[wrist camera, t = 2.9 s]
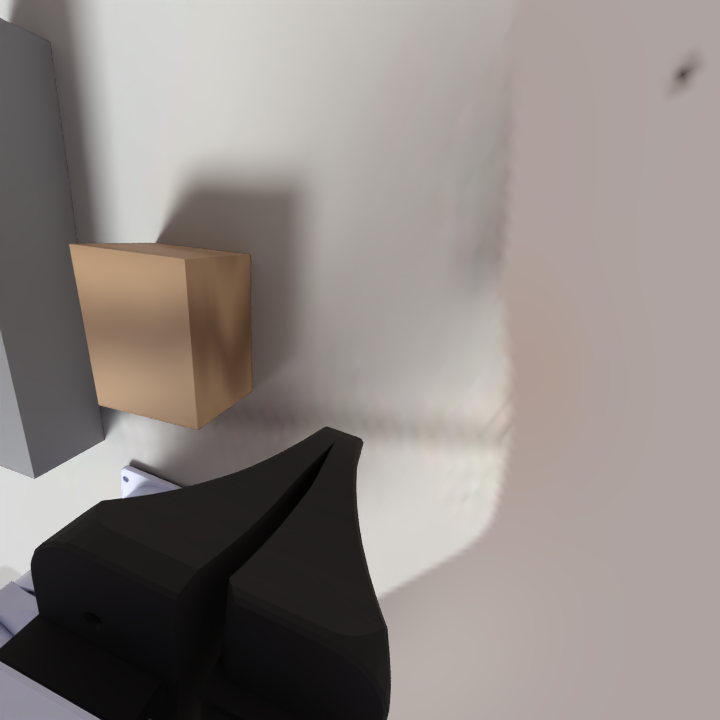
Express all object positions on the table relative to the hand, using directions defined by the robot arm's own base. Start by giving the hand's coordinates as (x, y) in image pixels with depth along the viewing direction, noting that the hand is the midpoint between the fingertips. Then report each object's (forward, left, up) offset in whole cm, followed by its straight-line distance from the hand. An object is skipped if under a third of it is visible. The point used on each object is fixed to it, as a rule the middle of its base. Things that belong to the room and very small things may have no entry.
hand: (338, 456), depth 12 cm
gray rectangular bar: (0, +22, -8) cm, 23 cm away
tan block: (0, +11, -8) cm, 14 cm away
